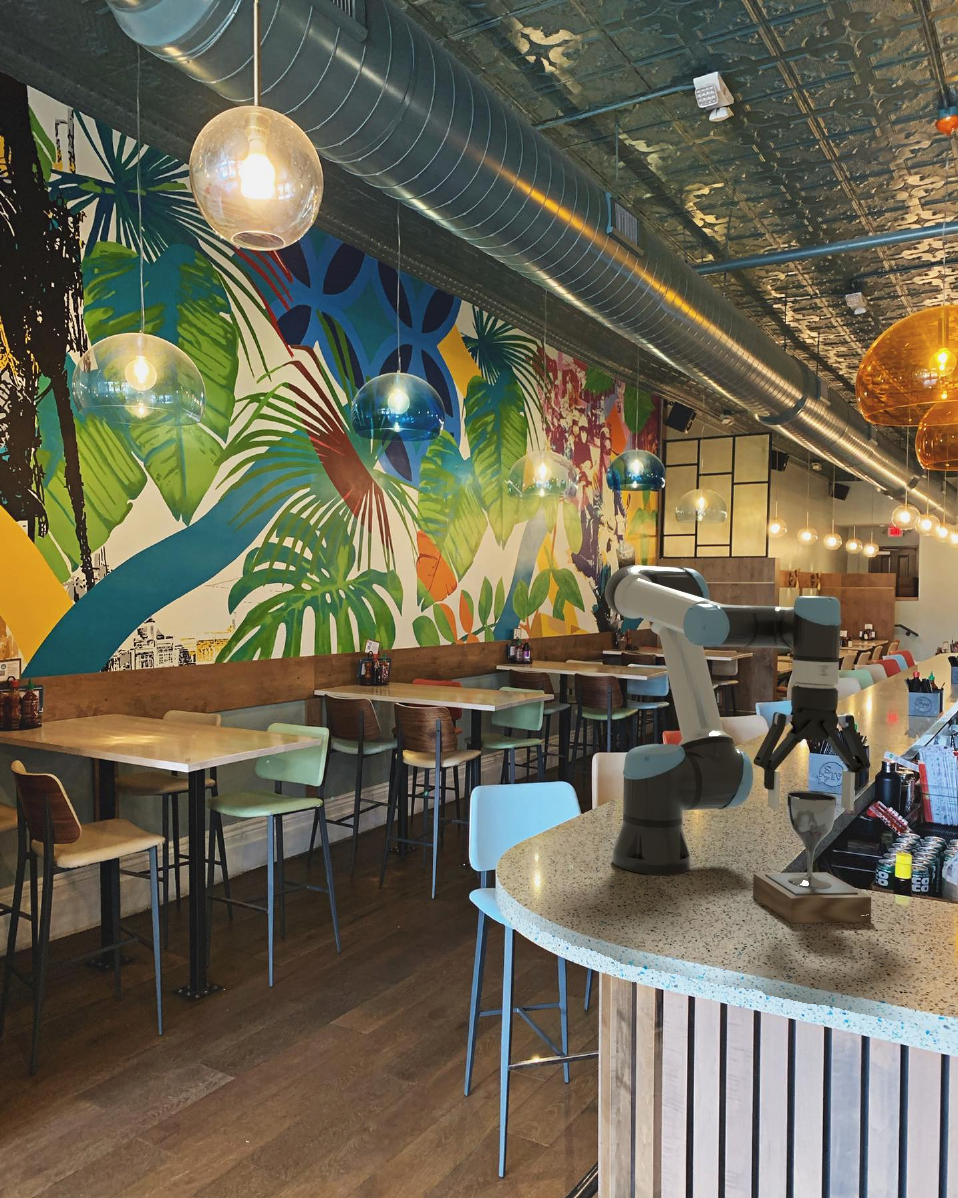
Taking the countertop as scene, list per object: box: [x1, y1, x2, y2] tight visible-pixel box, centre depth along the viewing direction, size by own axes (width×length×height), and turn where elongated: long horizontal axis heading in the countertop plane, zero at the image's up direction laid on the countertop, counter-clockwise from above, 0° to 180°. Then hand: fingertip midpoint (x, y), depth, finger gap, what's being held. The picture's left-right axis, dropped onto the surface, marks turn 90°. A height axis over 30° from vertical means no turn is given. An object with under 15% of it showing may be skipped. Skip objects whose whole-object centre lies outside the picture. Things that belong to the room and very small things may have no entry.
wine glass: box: [786, 790, 837, 889], centre depth 153 cm, size 8×8×15 cm
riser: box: [752, 871, 872, 924], centre depth 153 cm, size 14×14×4 cm
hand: (810, 809), depth 154 cm, fingers open, 13 cm apart
